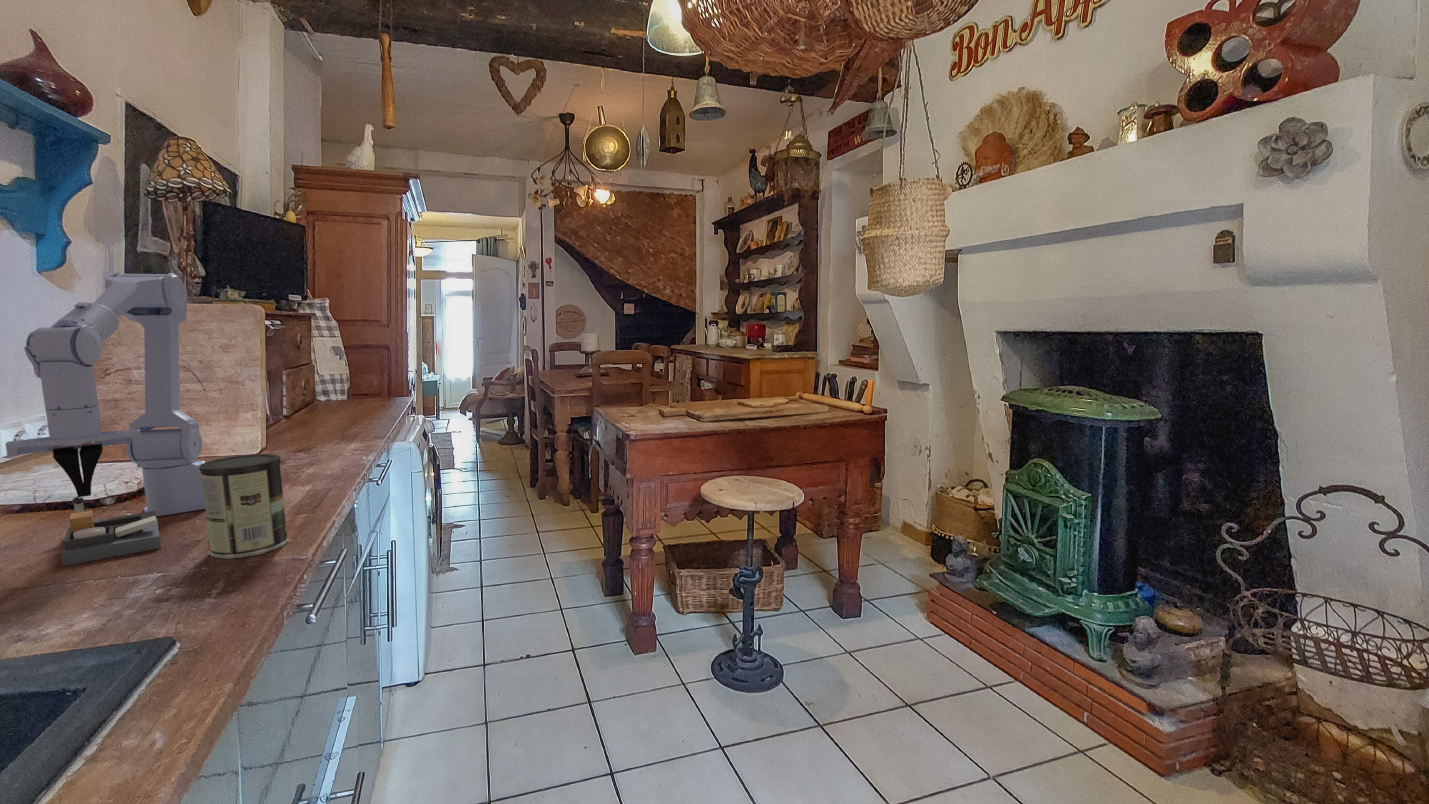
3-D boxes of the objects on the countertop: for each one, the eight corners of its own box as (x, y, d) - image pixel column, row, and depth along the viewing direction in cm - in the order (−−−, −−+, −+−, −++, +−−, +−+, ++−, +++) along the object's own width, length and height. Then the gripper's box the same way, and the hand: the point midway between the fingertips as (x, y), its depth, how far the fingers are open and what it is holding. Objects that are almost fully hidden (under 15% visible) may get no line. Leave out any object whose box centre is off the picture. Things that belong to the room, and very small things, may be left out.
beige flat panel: (156, 519, 107) (154, 515, 107) (157, 524, 105) (155, 519, 104) (117, 532, 104) (115, 528, 103) (117, 537, 101) (115, 532, 101)
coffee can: (258, 533, 110) (250, 451, 108) (303, 540, 107) (295, 456, 105) (192, 554, 100) (182, 465, 98) (239, 562, 97) (230, 470, 95)
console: (156, 521, 116) (154, 503, 116) (161, 548, 103) (158, 527, 103) (70, 535, 109) (68, 516, 109) (63, 566, 96) (60, 544, 95)
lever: (86, 518, 109) (83, 496, 109) (85, 517, 108) (83, 495, 108) (74, 520, 108) (72, 498, 108) (73, 519, 107) (71, 497, 107)
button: (106, 534, 103) (105, 525, 103) (106, 540, 100) (105, 531, 100) (75, 539, 101) (73, 530, 100) (73, 545, 98) (72, 536, 98)
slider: (94, 528, 107) (92, 510, 106) (93, 534, 104) (91, 516, 103) (73, 531, 105) (70, 513, 105) (71, 537, 102) (69, 519, 102)
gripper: (-3, 415, 90) (12, 510, 92) (137, 405, 100) (147, 491, 101) (4, 409, 95) (18, 499, 97) (136, 400, 105) (146, 482, 107)
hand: (84, 495), depth 100 cm, fingers closed
